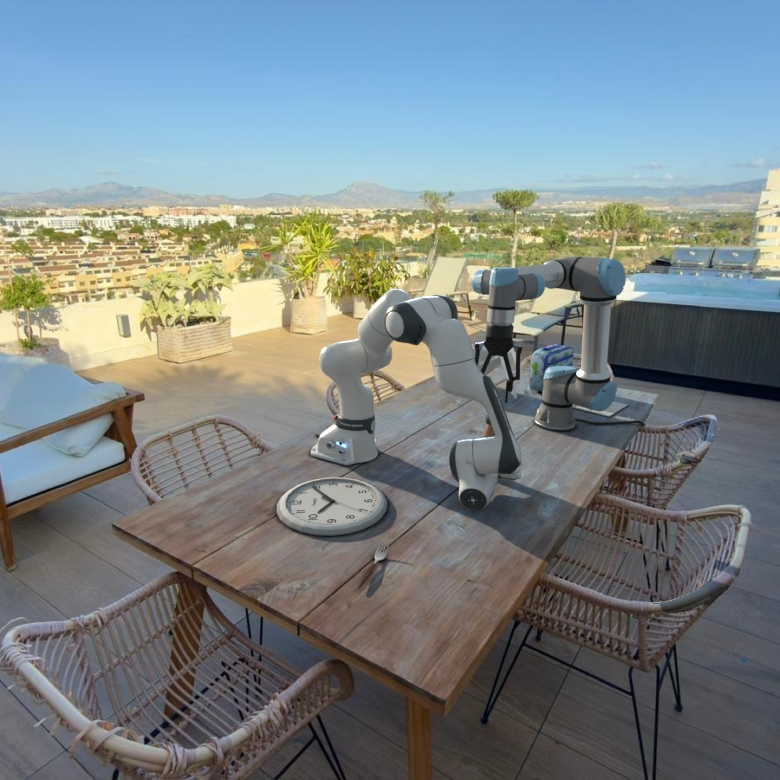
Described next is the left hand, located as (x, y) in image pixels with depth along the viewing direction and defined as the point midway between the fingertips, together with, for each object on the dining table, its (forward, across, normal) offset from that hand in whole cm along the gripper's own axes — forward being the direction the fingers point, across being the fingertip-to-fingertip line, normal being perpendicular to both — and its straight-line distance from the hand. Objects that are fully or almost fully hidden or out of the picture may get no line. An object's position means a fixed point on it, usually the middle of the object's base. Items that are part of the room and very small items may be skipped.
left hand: (489, 455), depth 161 cm
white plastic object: (+83, +16, +6) cm, 85 cm away
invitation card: (+82, -36, +6) cm, 90 cm away
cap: (-1, 0, -13) cm, 13 cm away
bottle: (-1, 0, +6) cm, 6 cm away
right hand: (-1, 0, -18) cm, 18 cm away
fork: (-57, +17, +6) cm, 60 cm away
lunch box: (+101, -14, +6) cm, 102 cm away
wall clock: (-34, +37, +6) cm, 51 cm away
